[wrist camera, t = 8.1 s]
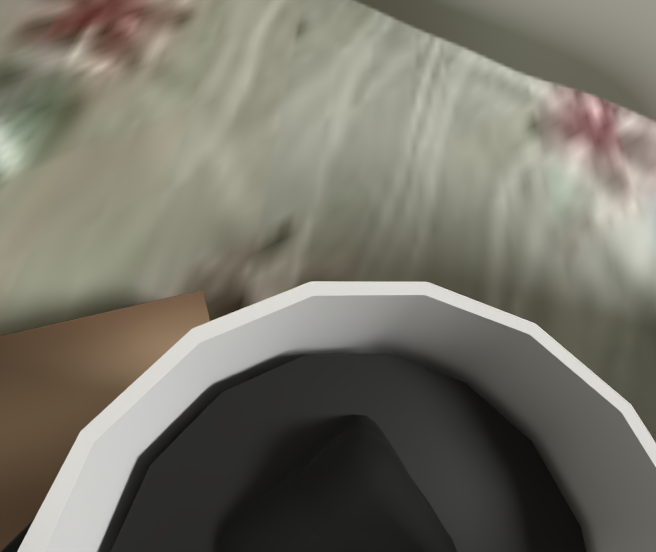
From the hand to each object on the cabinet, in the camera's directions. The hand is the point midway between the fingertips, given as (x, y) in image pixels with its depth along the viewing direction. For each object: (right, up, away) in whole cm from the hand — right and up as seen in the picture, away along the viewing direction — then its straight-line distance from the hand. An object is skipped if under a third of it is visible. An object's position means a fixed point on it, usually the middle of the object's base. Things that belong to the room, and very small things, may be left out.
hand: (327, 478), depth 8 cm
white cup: (-1, -4, +6) cm, 7 cm away
